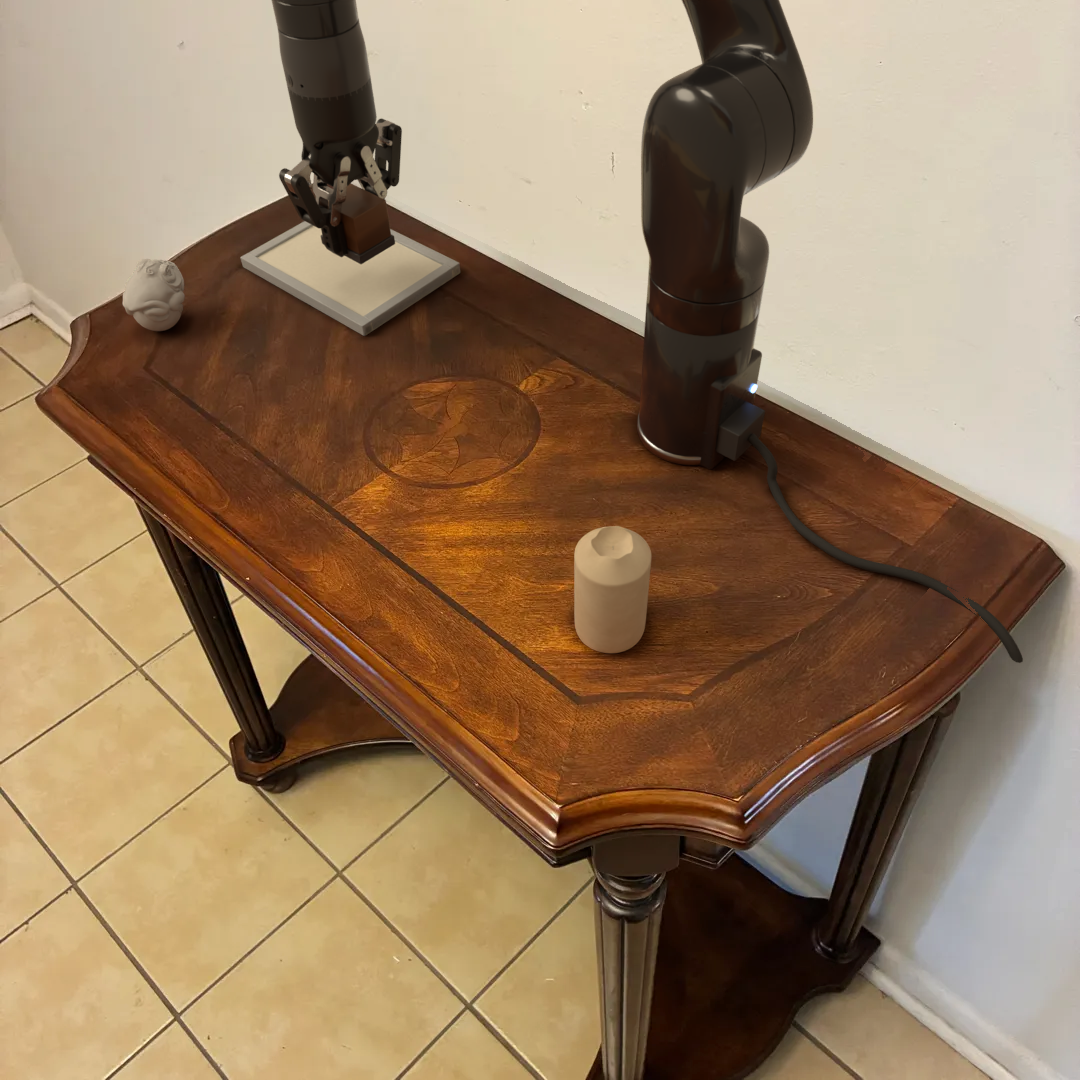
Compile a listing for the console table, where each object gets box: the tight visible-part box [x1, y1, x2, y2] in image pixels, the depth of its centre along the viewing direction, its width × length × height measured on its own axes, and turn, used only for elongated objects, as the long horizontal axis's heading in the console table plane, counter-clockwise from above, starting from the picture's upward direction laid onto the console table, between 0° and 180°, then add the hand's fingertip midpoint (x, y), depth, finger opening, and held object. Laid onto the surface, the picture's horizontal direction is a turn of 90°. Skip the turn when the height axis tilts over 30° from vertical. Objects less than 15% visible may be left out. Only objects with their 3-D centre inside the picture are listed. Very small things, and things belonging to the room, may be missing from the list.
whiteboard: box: [240, 220, 461, 337], centre depth 109 cm, size 20×14×1 cm
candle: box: [573, 525, 652, 654], centre depth 73 cm, size 6×6×10 cm
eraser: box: [321, 182, 395, 264], centre depth 100 cm, size 6×5×5 cm
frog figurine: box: [122, 258, 186, 332], centre depth 102 cm, size 6×7×7 cm
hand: (358, 240), depth 102 cm, fingers closed on eraser, 4 cm apart
